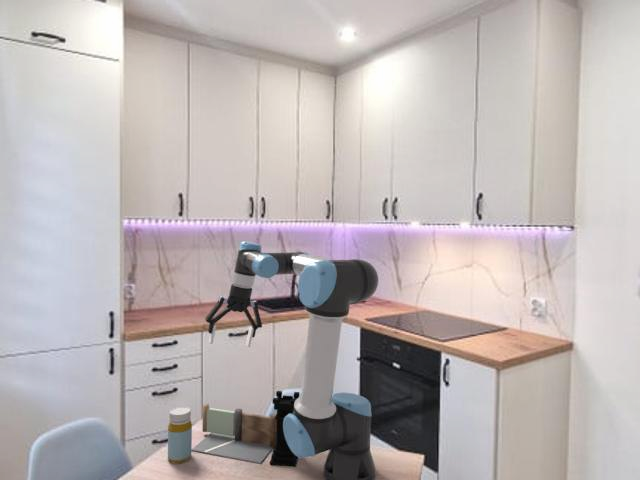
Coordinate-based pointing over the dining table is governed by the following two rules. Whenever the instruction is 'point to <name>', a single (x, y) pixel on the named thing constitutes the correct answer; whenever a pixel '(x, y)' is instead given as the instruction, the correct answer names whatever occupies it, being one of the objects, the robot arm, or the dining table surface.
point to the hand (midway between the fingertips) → (229, 344)
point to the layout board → (232, 448)
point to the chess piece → (281, 449)
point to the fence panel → (218, 421)
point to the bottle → (179, 435)
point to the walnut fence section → (255, 428)
